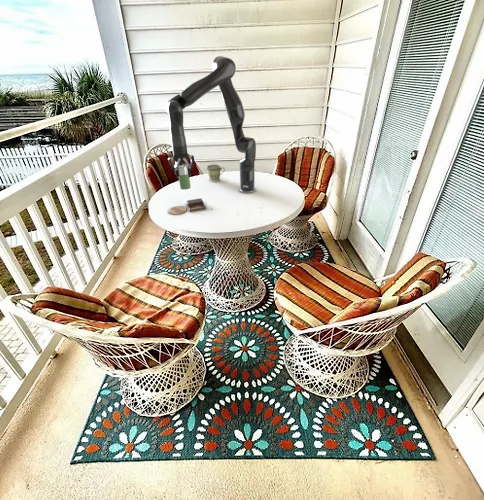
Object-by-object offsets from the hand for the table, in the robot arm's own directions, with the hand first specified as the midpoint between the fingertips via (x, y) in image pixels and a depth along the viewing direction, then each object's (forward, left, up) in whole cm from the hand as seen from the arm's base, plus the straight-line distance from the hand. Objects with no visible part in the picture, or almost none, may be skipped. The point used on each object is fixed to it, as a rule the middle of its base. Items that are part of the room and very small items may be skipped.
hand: (183, 175), depth 151 cm
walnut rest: (-2, +4, -19) cm, 20 cm away
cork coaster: (+6, -4, -19) cm, 20 cm away
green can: (0, 0, -1) cm, 1 cm away
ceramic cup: (-46, -3, -19) cm, 50 cm away
